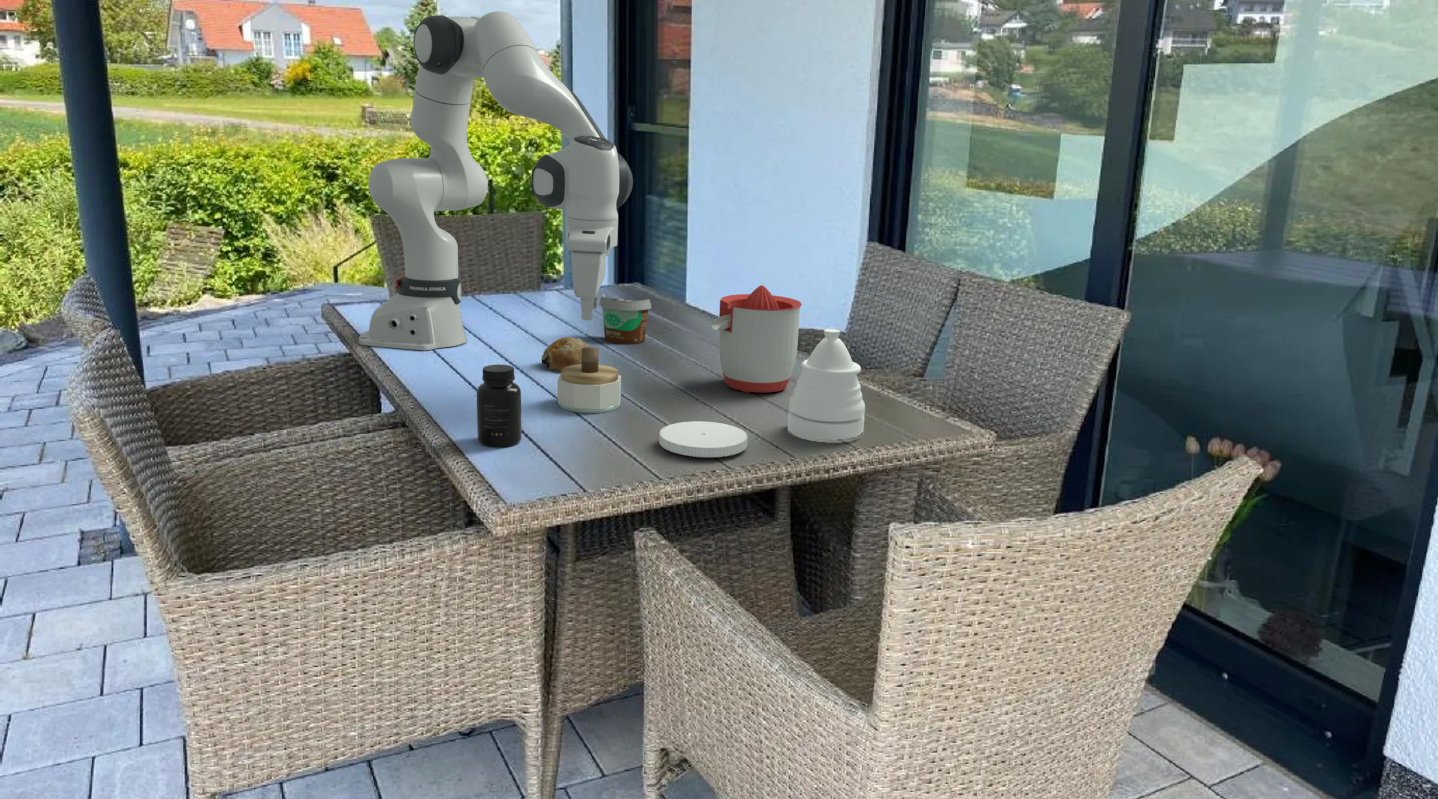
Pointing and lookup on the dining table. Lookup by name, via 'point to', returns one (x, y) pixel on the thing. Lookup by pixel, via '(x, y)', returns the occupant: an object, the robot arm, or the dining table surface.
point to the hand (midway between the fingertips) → (589, 313)
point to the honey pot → (827, 393)
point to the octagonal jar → (589, 396)
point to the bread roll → (563, 353)
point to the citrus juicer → (758, 340)
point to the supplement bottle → (498, 407)
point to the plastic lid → (703, 439)
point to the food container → (625, 320)
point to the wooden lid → (589, 370)
